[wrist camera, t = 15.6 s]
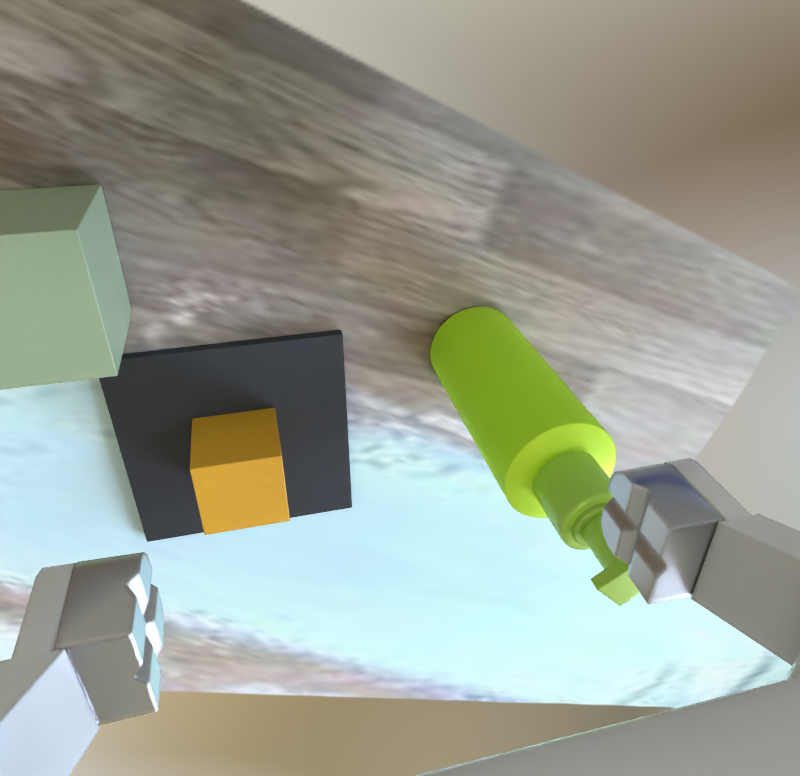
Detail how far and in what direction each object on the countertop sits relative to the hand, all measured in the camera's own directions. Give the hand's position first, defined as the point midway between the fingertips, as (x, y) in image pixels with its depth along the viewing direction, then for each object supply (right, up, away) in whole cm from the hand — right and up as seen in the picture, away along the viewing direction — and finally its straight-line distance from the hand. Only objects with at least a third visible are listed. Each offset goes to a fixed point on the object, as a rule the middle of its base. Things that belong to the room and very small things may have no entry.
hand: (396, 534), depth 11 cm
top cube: (-10, -1, +30) cm, 32 cm away
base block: (-18, +9, +22) cm, 30 cm away
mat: (-10, -1, +31) cm, 32 cm away
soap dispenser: (+5, +6, +31) cm, 32 cm away
